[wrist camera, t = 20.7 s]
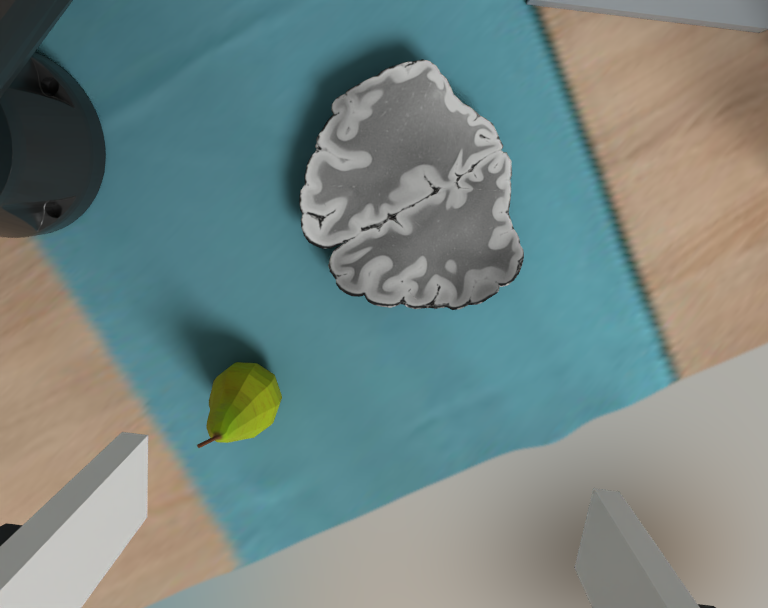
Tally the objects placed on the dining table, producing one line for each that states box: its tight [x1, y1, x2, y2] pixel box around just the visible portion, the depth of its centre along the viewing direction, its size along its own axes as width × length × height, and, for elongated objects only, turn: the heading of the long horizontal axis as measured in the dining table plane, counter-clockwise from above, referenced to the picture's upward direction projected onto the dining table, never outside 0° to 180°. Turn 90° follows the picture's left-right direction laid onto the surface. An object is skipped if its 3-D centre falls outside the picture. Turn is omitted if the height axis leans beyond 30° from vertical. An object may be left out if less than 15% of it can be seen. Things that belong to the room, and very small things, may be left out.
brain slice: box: [299, 60, 524, 310], centre depth 44 cm, size 20×17×3 cm
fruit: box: [197, 362, 282, 448], centre depth 43 cm, size 6×6×12 cm
